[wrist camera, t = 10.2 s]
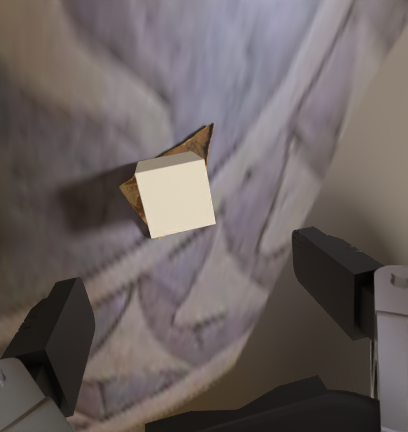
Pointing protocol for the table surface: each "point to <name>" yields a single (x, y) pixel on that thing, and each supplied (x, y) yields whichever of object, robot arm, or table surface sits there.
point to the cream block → (175, 193)
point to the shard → (194, 144)
